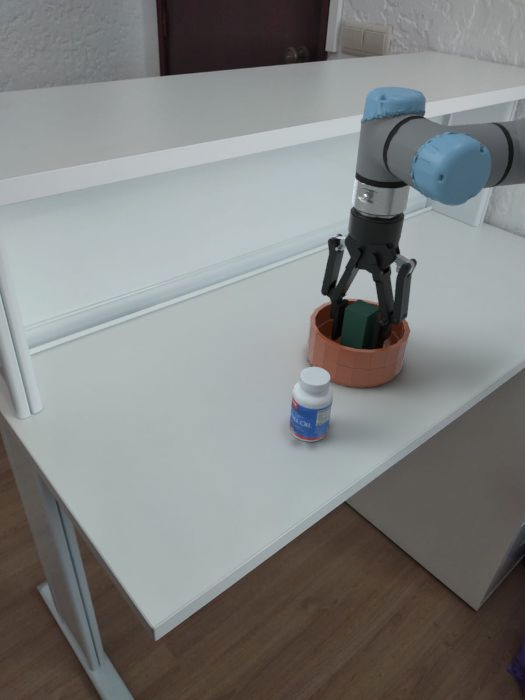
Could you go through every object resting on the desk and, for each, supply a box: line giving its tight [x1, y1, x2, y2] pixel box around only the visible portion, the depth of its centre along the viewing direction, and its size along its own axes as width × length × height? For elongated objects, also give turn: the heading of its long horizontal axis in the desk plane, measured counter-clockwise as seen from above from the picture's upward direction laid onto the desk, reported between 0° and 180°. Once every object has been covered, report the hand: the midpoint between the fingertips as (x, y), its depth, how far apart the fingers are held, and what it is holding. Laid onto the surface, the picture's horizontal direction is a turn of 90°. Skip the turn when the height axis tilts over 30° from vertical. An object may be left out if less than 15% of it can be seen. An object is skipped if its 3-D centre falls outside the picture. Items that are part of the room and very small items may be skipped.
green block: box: [340, 298, 380, 350], centre depth 93 cm, size 4×4×9 cm
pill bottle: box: [289, 366, 334, 443], centre depth 78 cm, size 6×5×10 cm
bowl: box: [306, 298, 411, 389], centre depth 94 cm, size 16×16×7 cm
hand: (356, 344), depth 94 cm, fingers open, 7 cm apart
